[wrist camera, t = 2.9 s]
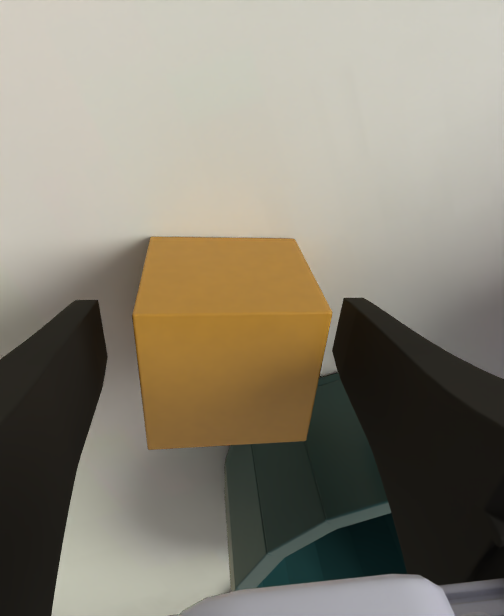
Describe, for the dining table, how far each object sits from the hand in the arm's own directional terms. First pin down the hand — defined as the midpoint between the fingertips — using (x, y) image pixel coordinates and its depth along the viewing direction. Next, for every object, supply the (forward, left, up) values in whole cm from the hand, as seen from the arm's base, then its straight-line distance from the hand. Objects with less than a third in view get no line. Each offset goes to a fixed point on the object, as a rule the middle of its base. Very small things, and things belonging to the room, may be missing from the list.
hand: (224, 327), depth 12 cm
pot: (-6, +9, -2) cm, 11 cm away
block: (0, 0, -2) cm, 2 cm away
